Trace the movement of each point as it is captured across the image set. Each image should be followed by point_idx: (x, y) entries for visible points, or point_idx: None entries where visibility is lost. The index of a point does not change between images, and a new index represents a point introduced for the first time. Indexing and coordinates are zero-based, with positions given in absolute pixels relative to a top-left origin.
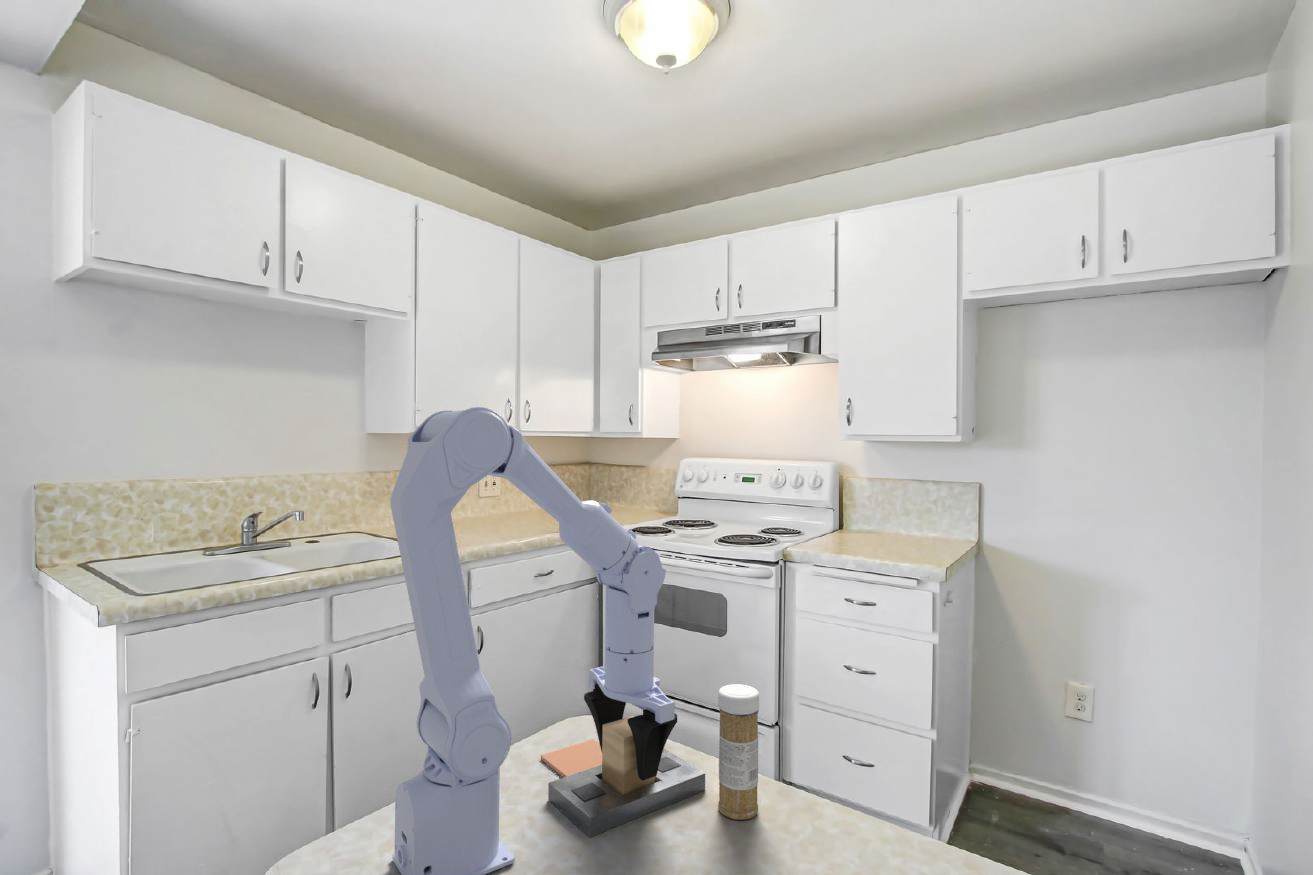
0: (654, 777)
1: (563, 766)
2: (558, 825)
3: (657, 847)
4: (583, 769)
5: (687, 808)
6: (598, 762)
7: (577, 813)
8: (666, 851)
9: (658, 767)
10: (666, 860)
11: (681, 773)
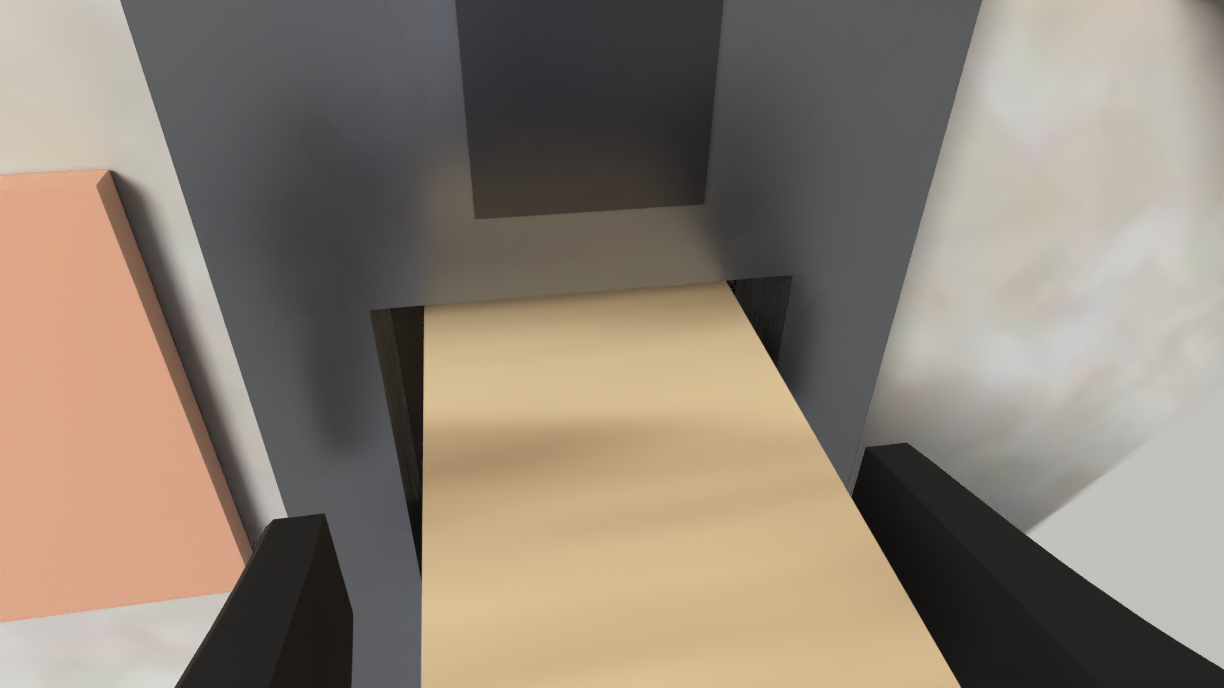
0: (748, 325)
1: (15, 584)
2: None
3: (1027, 445)
4: (118, 502)
5: (963, 138)
6: (28, 389)
7: None
8: (1076, 429)
9: (949, 476)
10: (1106, 453)
11: (840, 61)
